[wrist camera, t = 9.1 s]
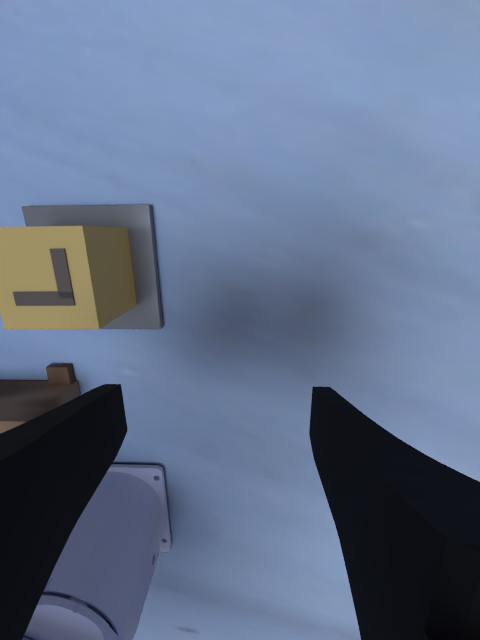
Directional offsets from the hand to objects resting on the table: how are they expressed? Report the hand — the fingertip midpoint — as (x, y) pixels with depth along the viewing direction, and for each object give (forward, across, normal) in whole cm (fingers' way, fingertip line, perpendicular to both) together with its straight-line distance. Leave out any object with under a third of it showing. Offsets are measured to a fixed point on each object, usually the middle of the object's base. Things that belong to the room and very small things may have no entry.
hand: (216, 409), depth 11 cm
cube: (+9, +9, -4) cm, 14 cm away
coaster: (+10, +9, -4) cm, 14 cm away
